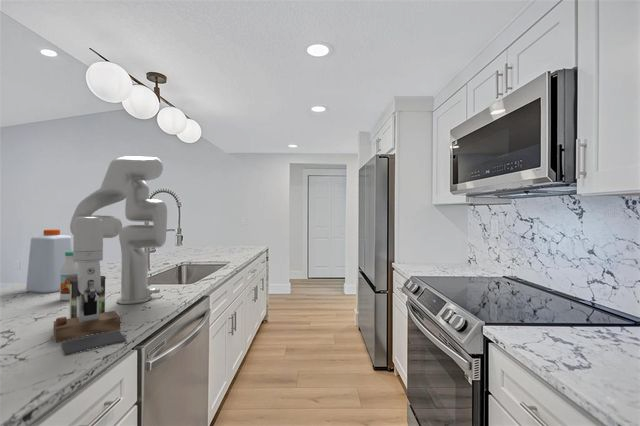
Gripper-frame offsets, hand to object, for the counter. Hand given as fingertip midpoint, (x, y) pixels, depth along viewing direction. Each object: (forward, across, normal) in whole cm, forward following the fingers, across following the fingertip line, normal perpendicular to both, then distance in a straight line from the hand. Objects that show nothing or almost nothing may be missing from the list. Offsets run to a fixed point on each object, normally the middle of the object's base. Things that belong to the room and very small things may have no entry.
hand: (87, 311), depth 101 cm
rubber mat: (+7, -11, 0) cm, 13 cm away
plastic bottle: (+6, +74, +4) cm, 74 cm away
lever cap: (+2, 0, 0) cm, 2 cm away
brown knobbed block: (+6, 0, 0) cm, 6 cm away
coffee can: (+7, +15, -2) cm, 17 cm away
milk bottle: (+6, +49, -1) cm, 50 cm away
